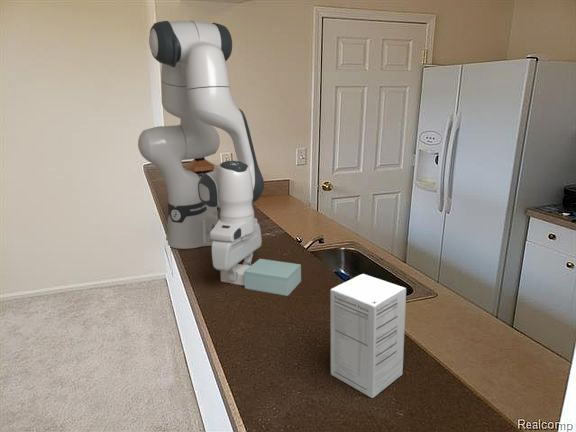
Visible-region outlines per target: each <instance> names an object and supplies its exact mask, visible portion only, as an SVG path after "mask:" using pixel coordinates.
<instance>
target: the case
mask: <svg viewBox="0 0 576 432" xmlns="http://www.w3.org/2000/svg"><path fill="white" fill-rule="evenodd" d="M244 282H245V286H244V289H247V290H251V291H257V292H263V293H267V294H275V295H280V296H286V297H287V296H289V295H290V294H291V293H292V292H293V290H295V289H296V287H298V285H299V284H300V283H301V282H302V264H300V263H294V262H287V261H286V262H285V261H278V260H272V259H265V258H259V259H258V260H256V261H255V262H254V263H253V264H252V263H251V266H250V267H249V268H247V269H246V270H245V271H244Z"/></svg>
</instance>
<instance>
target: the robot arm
mask: <svg viewBox="0 0 576 432" xmlns="http://www.w3.org/2000/svg"><path fill="white" fill-rule="evenodd" d="M148 36H149V37H148V45H149V50H150V52H151V55H152V57H153V58H154V59H155V60H156V62H158V63H159V64H161V71H160V72H161V75H160V76H161V78H160V80H161V81H160V83H161V84H160V86H161V87H160V88H161V89H160V90H161V105H162V108H163V109H164V110H165V112H167V113H169V114H170V115H172V116H174V117H176V118H178V119H180V123H179V124H175V125H161V126H155V127H151V128H147V129H144V130H143V131H141V133H140V135H139V137H138V140H137V141H138V142H137V147H138V151H139V153H140V155H141V157H142V158H143V159H145V160H146V161H147V162H149V163H151V164H153V166H155V167H156V168H157V169H158V171H159V172H160V173H161V175H162V177H163V180H164V182H165V187H166V192H167V201H168V202H167V205H166V206H167V208H166V209H167V214H168V217H167V235H166V236H165V240H166V241H167V245H168V246H169V247H171V248H173V249H180V250H181V249H183V250H184V249H186V250H187V249H196V248H201V247H210V246H211V260H212V267H213V268H214V269H215V270H216V271H227V272H228V273H229V279H230V280H235V279H237V278H238V276H237V275H238V272H235V269H234V268H235V265H236V264H240V262H242V260H243V262H242V265H248V266H251V265H252V260H253V256H254V252H255V251H256V250H258V249H259V248H260V247H261V246H262V243H263V239H262V232H261V231H262V229H261V226H260V224H259V223H258V219H257V217H255V211H254V207H253V203H255V202H257V201H258V200H259V199H260V197H261V196H262V195H263V193H264V190H265V180H264V177H263V174H262V172H261V169H260V167H259V164H258V161H257V155H256V153H255V148H254V143H253V141H252V137H251V136H252V135H251V132H250V127H249V124H248V120H247V118H246V115H245V113H244V111H243V110H242V109H241V108H239V107H238V106H237V104H236V102H235V100H234V99H233V95H232V91H231V83H230V82H231V81H230V75H229V71H228V65H227V61H228V60H229V58H230V57H231V55H232V53H233V52H232V50H233V39H232V34H231V32H230V30H229V28H228V27H227V26H225V25H223V24H220V23H217V22H212V23H210V22H206V21H198V20H188V21H186V20H184V21H183V20H177V21H175V20H174V21H168V20H161V21H158V22H154V23H153V25H152V26H151V27H150V30H149V35H148ZM216 128H218V129H220V130H222V131H224V132H225V133H227V134H228V135H229V136H230V138H231V140H232V143H233V147H234V151H235V155H236V159H237V160H226V161H223V162H221V163H220V164H219V165H218V166H217V168H216V169H214V170H213V171H212V172H209V173H206V174H204V175H203V176H202V177H201V179H200V177H199V176H198V175H197V174H196V173H194V172H192V171H190V170H187V169H186V168H184V165H183V162H182V161H185V160H194V159H196V158H203V157H204V158H208V157H209V156H212V155H214V154H216V153H217V152H218V149H219V148H220V142H221V141H220V140H221V139H220V134H219V133H218V131H217V130H216ZM205 204H206V205H207V206H209V207H218V209H220V211H219V216H218V217H217V216H216V215H214V214H212V213H211V212H210V211H208V210H207V208H206V205H205Z"/></svg>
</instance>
